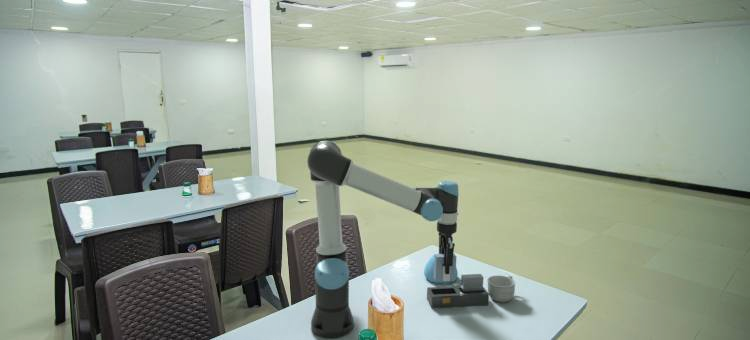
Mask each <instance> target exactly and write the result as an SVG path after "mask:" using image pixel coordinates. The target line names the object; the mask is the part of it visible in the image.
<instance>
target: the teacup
mask: <svg viewBox="0 0 750 340" xmlns="http://www.w3.org/2000/svg"><path fill="white" fill-rule="evenodd" d="M515 289H516V281H515V280H514V278H513V276H512V275H507V276H504V275H492V276H489V277H488V278H487V292H488V293H489V298H491V299H493V300H494V301H496V302H498V303H507V302H508V301H511V300H512V299H513V298H514V297H515Z"/></svg>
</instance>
